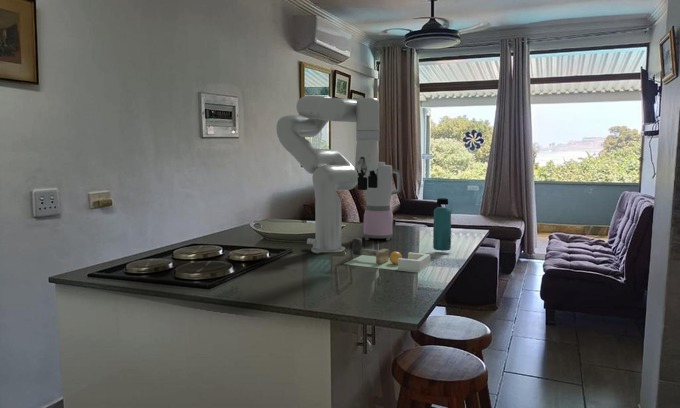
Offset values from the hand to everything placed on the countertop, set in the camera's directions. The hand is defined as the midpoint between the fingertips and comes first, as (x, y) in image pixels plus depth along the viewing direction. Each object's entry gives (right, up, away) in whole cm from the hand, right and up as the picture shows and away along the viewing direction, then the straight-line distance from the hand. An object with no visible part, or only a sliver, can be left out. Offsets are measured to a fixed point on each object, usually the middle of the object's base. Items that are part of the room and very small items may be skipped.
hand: (367, 188), depth 166 cm
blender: (+8, -20, +45) cm, 50 cm away
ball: (+9, -22, -5) cm, 24 cm away
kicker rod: (0, -23, -1) cm, 24 cm away
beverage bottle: (+28, -23, +17) cm, 40 cm away
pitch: (+6, -25, -4) cm, 26 cm away
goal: (+14, -25, -8) cm, 29 cm away
